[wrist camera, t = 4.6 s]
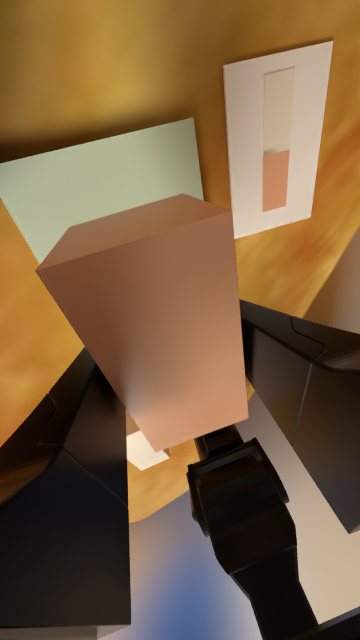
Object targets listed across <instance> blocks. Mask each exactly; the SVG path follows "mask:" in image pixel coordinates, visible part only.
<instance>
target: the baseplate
mask: <svg viewBox="0 0 360 640" xmlns="http://www.w3.org/2000/svg"><path fill="white" fill-rule="evenodd" d="M182 193H184V194H187V195H190V196H192V197H195V198H198V199H201V200H204V199H203V191H202V183H201V175H200V167H199V159H198V151H197V143H196V135H195V127H194V119H193V117H192V118H188V119H184V120H180V121H176V122H171V123H167V124H163V125H159V126H155V127H151V128H146V129H142V130H138V131H134V132H130V133H126V134H121V135H117V136H113V137H109V138H105V139H101V140H96V141H92V142H88V143H84V144H80V145H75V146H71V147H67V148H63V149H59V150H55V151H50V152H46V153H42V154H38V155H34V156H30V157H25V158H21V159H17V160H13V161H9V162H5V163H0V198H1V200H2V202H3V203H4V205H5V207H6V208H7V210H8V212H9V213H10V215H11V217H12V218H13V220H14V222H15V223H16V225H17V227H18V228H19V230H20V232H21V233H22V235H23V237H24V238H25V240H26V242H27V243H28V245H29V247H30V248H31V250H32V252H33V253H34V255H35V257H36V258H37V260H38V262H39V263H40V264H41V263H42V262H43V260H44V259H45V258H46V256H47V255H48V254H49V252H50V251H51V250H52V249H53V247H54V246H55V245H56V243H57V242H58V241H59V240H60V238H61V237H62V236H63V234H64V233H65V232H66V230H67V229H68V228H69V227H70V226H74V225H77V224H81V223H84V222H87V221H91V220H94V219H97V218H101V217H104V216H108V215H111V214H114V213H118V212H121V211H124V210H128V209H131V208H135V207H138V206H141V205H145V204H148V203H151V202H155V201H158V200H162V199H165V198H168V197H172V196H175V195H178V194H182Z"/></svg>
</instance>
